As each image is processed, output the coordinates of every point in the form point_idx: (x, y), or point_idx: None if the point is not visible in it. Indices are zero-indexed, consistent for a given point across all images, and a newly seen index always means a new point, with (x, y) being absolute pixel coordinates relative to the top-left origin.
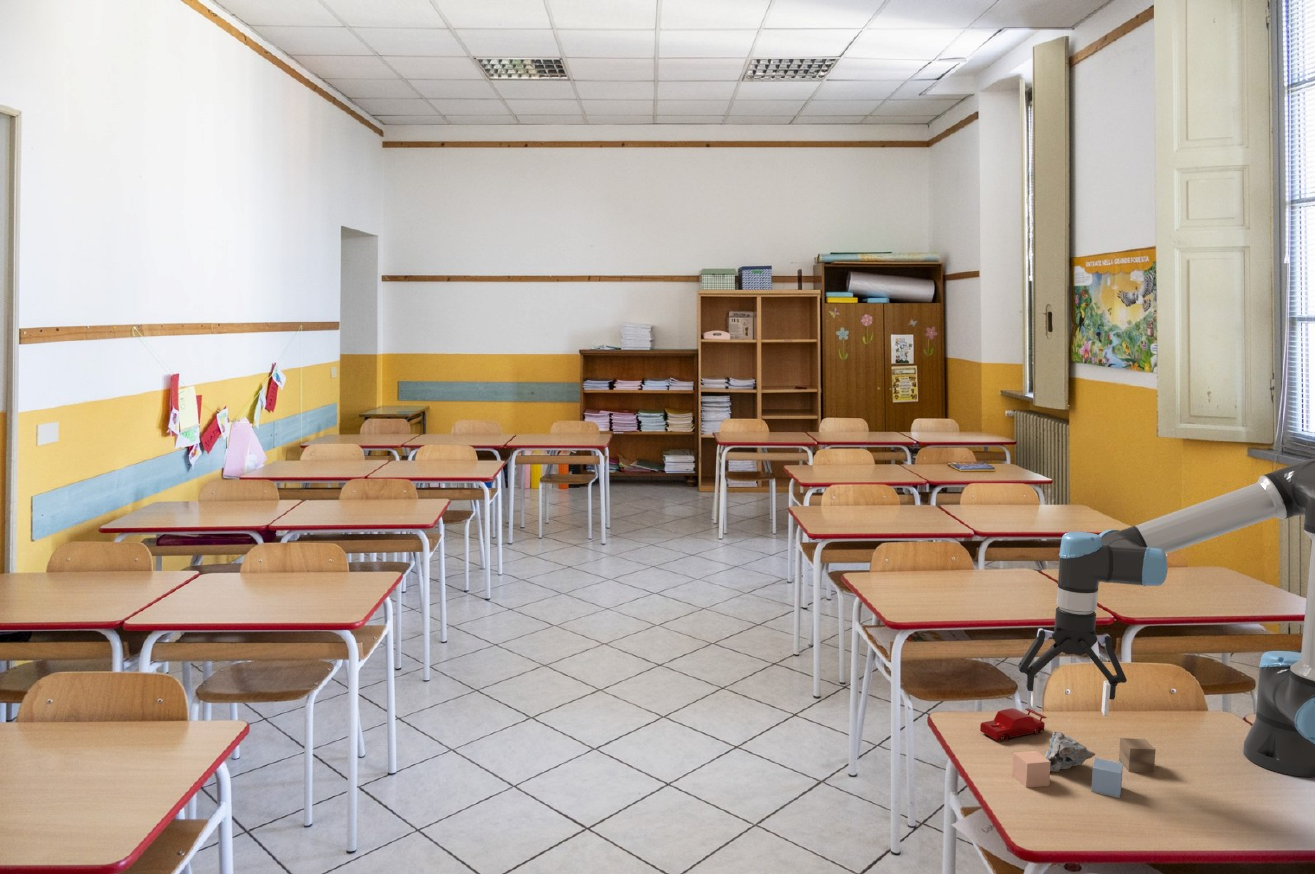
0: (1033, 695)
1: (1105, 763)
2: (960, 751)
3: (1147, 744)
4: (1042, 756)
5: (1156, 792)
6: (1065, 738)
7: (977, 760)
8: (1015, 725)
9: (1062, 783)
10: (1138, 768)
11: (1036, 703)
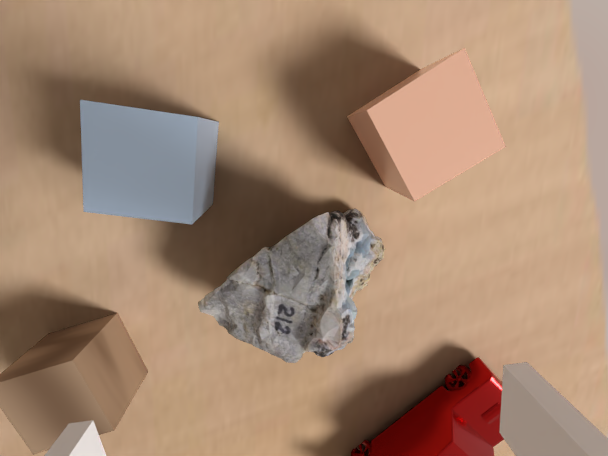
0: (605, 438)
1: (150, 181)
2: (584, 257)
3: (19, 414)
4: (394, 153)
5: (25, 196)
6: (302, 326)
7: (545, 214)
8: (440, 426)
9: (305, 147)
10: (84, 325)
11: (528, 390)
